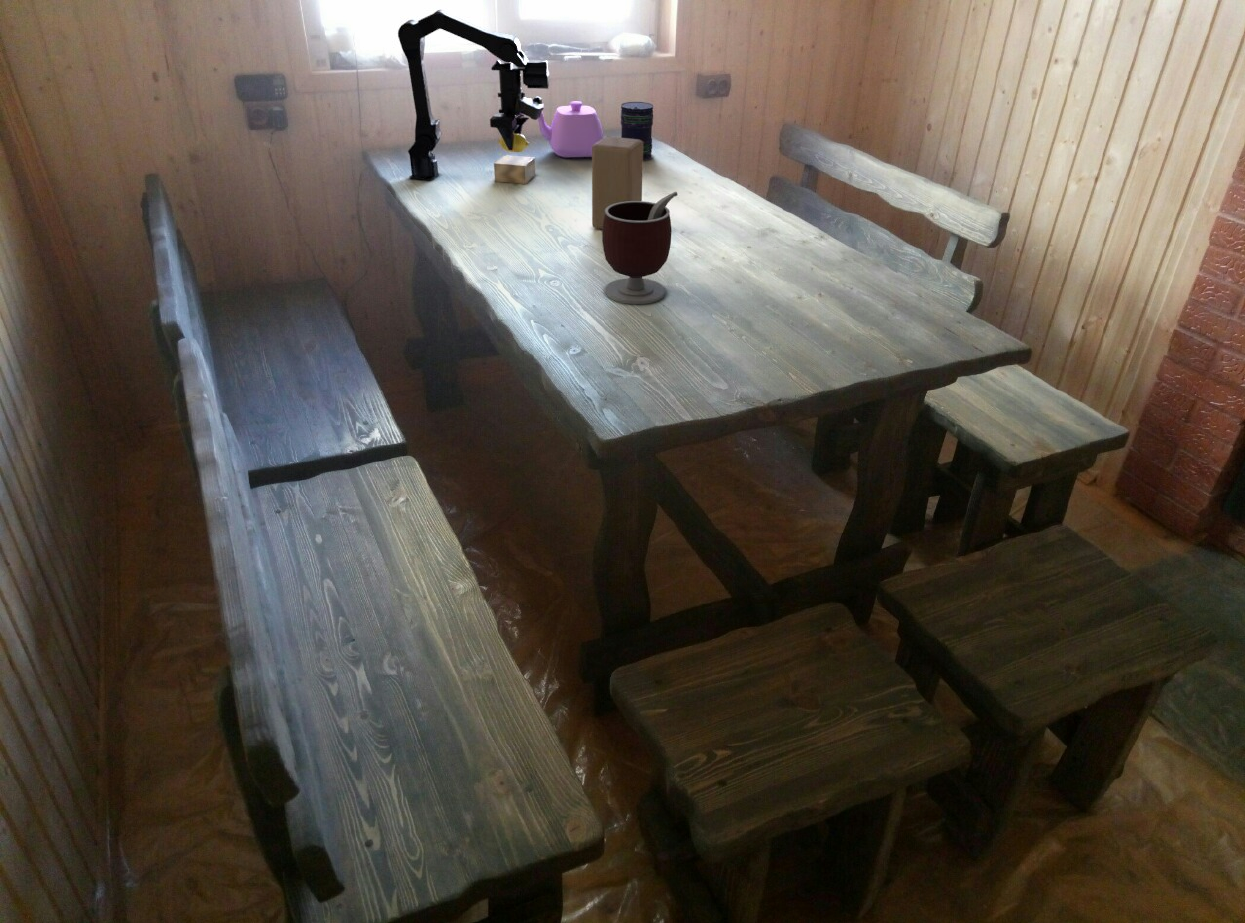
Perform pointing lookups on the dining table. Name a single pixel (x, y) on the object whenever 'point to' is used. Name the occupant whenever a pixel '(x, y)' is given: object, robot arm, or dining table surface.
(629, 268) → the mate gourd
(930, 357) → the dining table surface
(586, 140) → the teapot
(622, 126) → the storage jar
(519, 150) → the lemon
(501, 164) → the maple block
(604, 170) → the block
